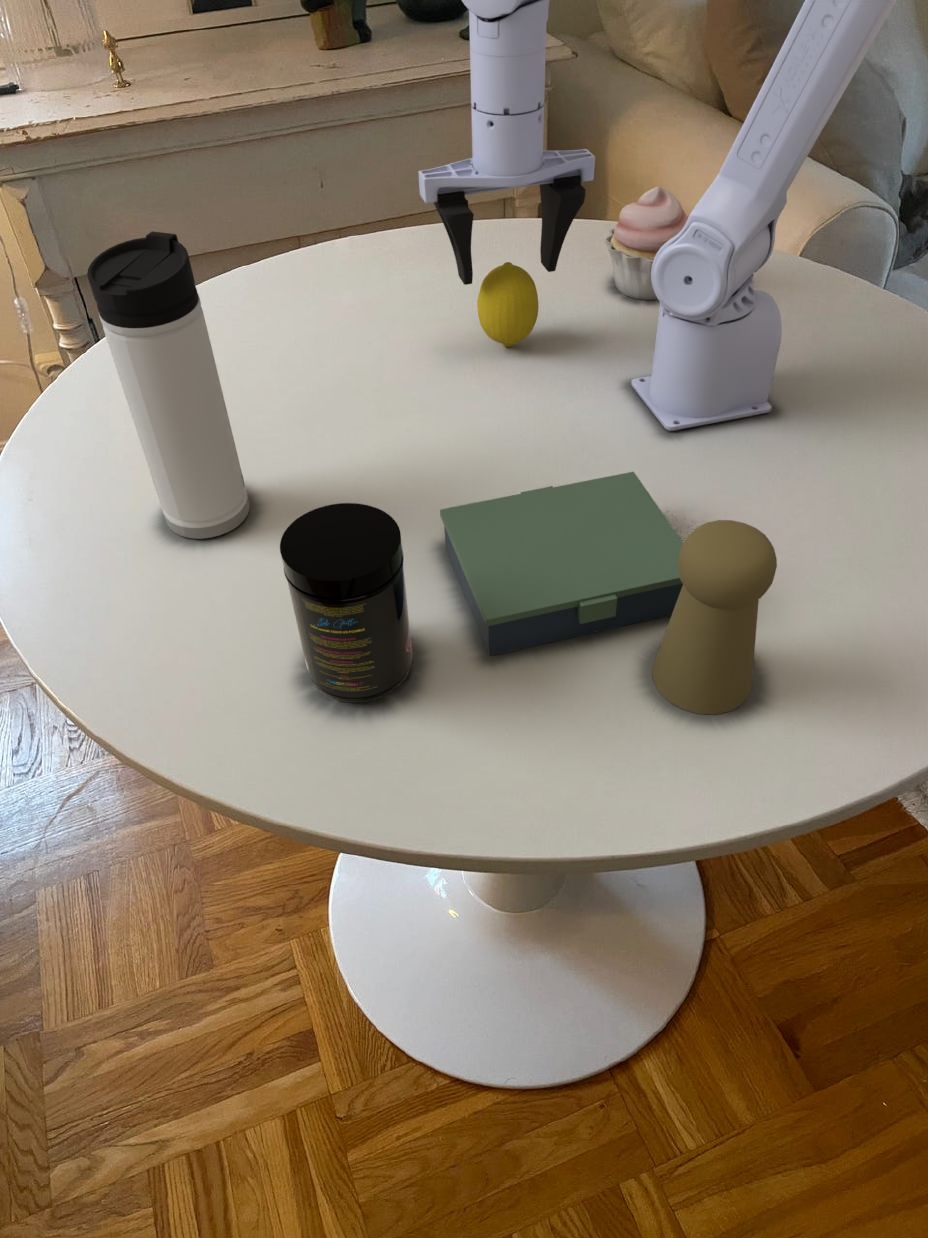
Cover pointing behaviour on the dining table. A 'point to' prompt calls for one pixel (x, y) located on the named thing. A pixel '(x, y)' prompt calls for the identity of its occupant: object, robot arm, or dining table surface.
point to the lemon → (507, 304)
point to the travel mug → (171, 382)
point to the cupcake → (643, 240)
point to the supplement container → (349, 599)
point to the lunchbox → (563, 561)
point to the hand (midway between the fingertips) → (507, 273)
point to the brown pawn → (715, 618)
